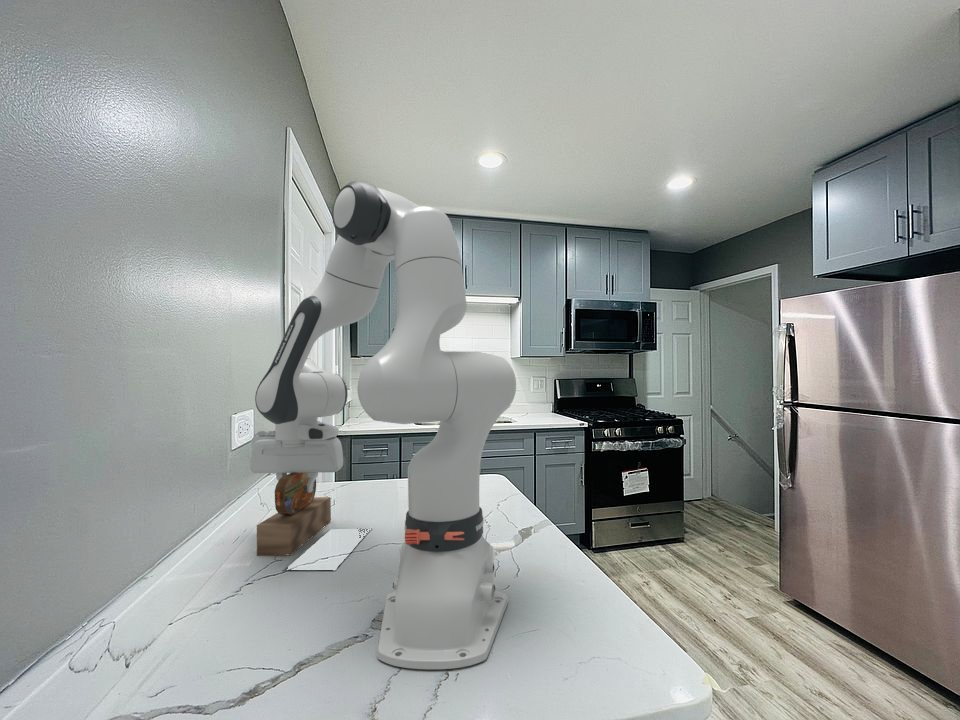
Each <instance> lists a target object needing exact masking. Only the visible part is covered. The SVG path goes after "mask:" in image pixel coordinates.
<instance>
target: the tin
mask: <svg viewBox="0 0 960 720" xmlns="http://www.w3.org/2000/svg"><path fill="white" fill-rule="evenodd" d="M309 479H310V477H308V473H287V475H286V476H283V477H282V478H280V480H279V481H278V480H277V482H276V485H275V489H274V507H275V510H276V513H279V514H282V515H289V514H290V515H294V514H296V513H297V512H298V511H300V510H301V509H303V508H304V507H306V506H307V505H309V504H310V503H311V502H312V501H313V499H314V497H315V495H316V491H317V478H316V479H315V481H314V483H313V491H312V492H311V493H304V492H303V490H304V489H303V485H305V484H306V483H308V481H309Z"/></svg>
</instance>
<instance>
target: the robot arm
mask: <svg viewBox="0 0 960 720" xmlns="http://www.w3.org/2000/svg"><path fill="white" fill-rule="evenodd" d="M331 215H332V217H331V218H332V219H331V220H332V224H333V225H334V229H335V231H336V234H338V236H337V238H336V241H335V243H334V245H333V247H332V250H331V253H330V255H329V258H328V261H327V263H326V267H325V271H324V274H323V277H322V279H321V280H320V283H319V284H318V286H317V287H316V289H315V290H314V291H313V293H312V294H311V295H310V296H307V297H305V298H304V299H302V301H300V302H299V305H298V306H297V308H296V309H295V312H294V313H293V314H292V315H293V316H292V317H291V319H290V322H289V324H288V326H287V328H286V331H285V333H284V335H283V337H282V340H281V342H280V344H279V347H278V349H277V351H276V354H275V355H274V358H273V360H272V363H271V364H270V367H269V368H268V370H267V371H266V373H265V375H264V376H263V378H261V381H260V383H259V384H258V386H257V388H256V392H255V396H254V397H255V398H254V399H255V400H254V401H255V407H256V409H257V411H258V412H259V413H260V415H261V416H262V417H264V418H265V419H266V420H268V421H269V422H270V423H272V424H274V427H275V428H274V430H270V431H265V430H261V431H258V432H257V433H255V434H254V435H253V436H252V437H251V447H252V449H251V456H250V462H249V463H250V467H249V468H250V471H251V472H252V473H253V474H275V475H276V476H275V479H276V480H277V482H278V481H279V480H280V478H282V477H283V476H286V475H288V474H290V473H308V477H310V479H309V481H308V483H306V484H305V485H303V489H304V490H303V492H304V493H311V492H312V491H313V483H314V481H315V479H316V480H317V478H318V474H319V473H336V472H338V471H339V470H341V469H342V468H343V466H344V451H343V446H342V441H341V440H340V439H339V438H338V437H337V436H338V435H339V434H340V433H339V431H340V430H339V427H338V426H336V425H332V424H329V423H326V422H325V423H324V422H323V421H320V420H318V418H324V417H330V416H334V415H338V414H340V413H341V412H342V411H343V409H344V408H345V406H346V405H347V402H348V395H349V394H348V387H347V383H346V382H345V380H344V378H343V377H342V376H341V375H339V374H338V373H333V372H330V371H328V370H324V369H322V368H321V367H319V366H317V364H316V362H315V361H314V360H313V359H311V358H308V357H309V355H310V353H311V351H312V349H313V347H314V344H315V343H316V342H317V340H318V339H319V338H320V337H322V336H323V335H324V334H326V333H328V332H330V331H332V330H335V329H337V328H340V327H344V326H347V325H351V324H354V323H357V322H359V321H361V320H362V319H365V318H366V317H367V316H368V315H370V313H371V312H372V311H373V308H374V307H375V305H376V302H377V299H378V297H379V293H380V289H381V286H382V282H383V278H384V273H385V270H386V267H387V266H388V264H390V262H393V261H394V267H395V279H396V282H395V283H396V294H397V295H396V299H397V300H396V301H397V303H396V304H397V306H396V307H397V309H396V310H397V315H396V321H395V322H396V323H395V325H394V329H393V331H392V334H391V335H390V337H389V339H388V341H387V342H386V343H385V345H384V346H383V347H382V348H381V349H380V350H379V351H378V352H377V353H376V354H374V355H372V356H371V357H370V358H369V359H368V361H367V362H365V364H364V365H363V367H362V369H361V371H360V373H359V376H358V379H357V387H356V390H357V395H358V400H359V403H360V405H361V407H362V409H363V410H364V412H365V413H366V414H367V416H368V417H369V418H371V419H372V420H373V421H376V422H383V423H390V424H396V425H397V424H399V425H410V424H423V423H437V422H439V427H438V430H437V433H436V434H435V436H434V437H433V439H432V440H431V441H430V442H429V443H428V444H427V445H425V446H423V447H422V448H420V449H419V450H418V451H417V452H415V454H414V455H413V457H411V460H410V461H409V464H408V467H407V493H408V494H407V500H408V501H407V502H408V504H407V505H408V510H407V512H406V514H405V520H404V542H403V543H402V544H401V545H399V548H398V549H399V563H398V564H399V565H398V573H397V579H396V580H395V579H394V581H393V583H392V589H393V591H391V592H390V593H388V594H387V595H386V597H385V603H384V608H383V615H382V619H381V627H380V632H379V633H380V634H379V639H378V646H377V652H376V655H377V659H379V660H380V661H381V662H383V663H386V664H388V665H390V666H394V667H400V668H403V669H405V668H406V669H412V670H450V669H452V670H453V669H459V668H465V667H469V666H473V665H476V664H479V663H483V662H484V661H486V660H487V658H488V656H489V654H490V651H491V650H492V646H493V644H494V641H495V638H496V635H497V632H498V630H499V627H500V624H501V622H502V620H503V616H504V615H505V611H506V609H507V606H508V604H509V603H508V596H507V594H506V593H504V592H502V591H499V590H496V583H495V581H496V579H495V578H496V577H495V561H494V560H495V559H494V547H493V545H491V544H490V543H489V542H488V541H487V540H486V539H485V537H484V535H483V534H484V523H485V521H484V515H483V509H482V507H481V506H480V480H481V479H480V474H481V473H480V472H481V462H482V454H483V450H484V447H485V444H486V441H487V439H488V437H489V434H490V432H491V430H492V428H493V426H494V425H495V423H496V422H497V420H498V419H499V418H500V417H501V415H502V414H503V413H504V412H506V411H507V410H508V409H509V407H511V405H512V403H513V402H514V399H515V396H516V391H517V378H516V374H515V372H514V369H513V368H512V365H511V364H510V363H509V361H508V360H507V359H506V358H505V357H502V356H499V355H494V354H492V353H491V354H490V353H487V352H482V351H444V350H441V347H440V341H441V340H440V339H441V335H442V334H445V333H446V332H448V331H450V330H451V329H453V328H455V327H456V326H457V325H459V324H460V323H461V322H462V320H463V319H464V316H465V315H466V313H467V312H466V311H467V306H468V305H467V298H466V289H465V283H464V273H463V266H462V265H463V264H462V259H461V253H460V249H459V244H458V241H457V236H456V234H455V230H454V228H453V225H452V222H451V220H450V218H449V216H448V215H447V214H446V213H444V211H442V210H440V209H438V208H436V207H433V206H427V205H426V206H423V205H422V206H421V205H419V204H417V203H415V202H414V201H411V200H410V199H407V197H405V196H403V195H401V194H399V193H395V192H392V191H389V190H387V189H384V188H379V187H377V186H376V185H375V184H372V183H369V182H363V181H357V180H355V181H350V182H348V183H347V184H345V185H344V186H343V187H342V188H341V189H340V190H339V192H338V193H337V195H336V197H335V199H334V202H333V206H332V212H331Z"/></svg>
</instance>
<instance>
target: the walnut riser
mask: <svg viewBox="0 0 960 720" xmlns="http://www.w3.org/2000/svg"><path fill="white" fill-rule="evenodd" d="M331 498H332V497H330V496H325V497H324V496H321V497H317V496H316V497H315V496H314V499H313V501H312V502H311V503H310V504H309V505H307V506H306V507H304V508H303V509H301V510H300V511H298V512H297V513H296V514H294V515H290V514H289V515H282V514H279V513H278V512H276V513H275V514H273V515H271V516H270V517H268V518H267V519H265V520H263V521H261V522H260V523H258V524H257V525H256V556H287V555H286V554H289V555H288V556H292V555H293V554H294V553H295V552H296V551H298V550H299V549H300V548H301V547H302V546H303V545H302V544H304V543H305V542H306V541H307V540H308V539H310V538H311V537H312V536H313V537H314V535H315V534H316V533H317V532H318V533H320V530H321V529H322V528H323V527H324V526H325V527H327V526H328V525H329V524H330V523H331V522H332V515H331V514H332V511H331V510H332V509H331V508H332V506H331V502H332V501H331ZM330 521H331V522H330ZM329 522H330V523H329ZM328 523H329V524H328ZM327 524H328V525H327ZM326 525H327V526H326ZM325 527H324V528H325ZM324 528H323V529H324ZM323 529H322V530H323ZM322 530H321V531H322ZM318 533H317V534H318ZM317 534H316V535H317ZM316 535H315V536H316ZM313 537H312V538H313ZM312 538H311V539H312ZM311 539H310V540H311ZM307 542H308V541H307ZM307 542H306V543H307ZM306 543H305V544H306ZM305 544H304V545H305ZM301 545H302V546H301ZM300 546H301V547H300ZM299 547H300V548H299ZM298 548H299V549H298ZM297 549H298V550H297ZM295 550H296V551H295ZM294 551H295V552H294ZM293 552H294V553H293ZM292 553H293V554H292ZM291 554H292V555H291Z"/></svg>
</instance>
